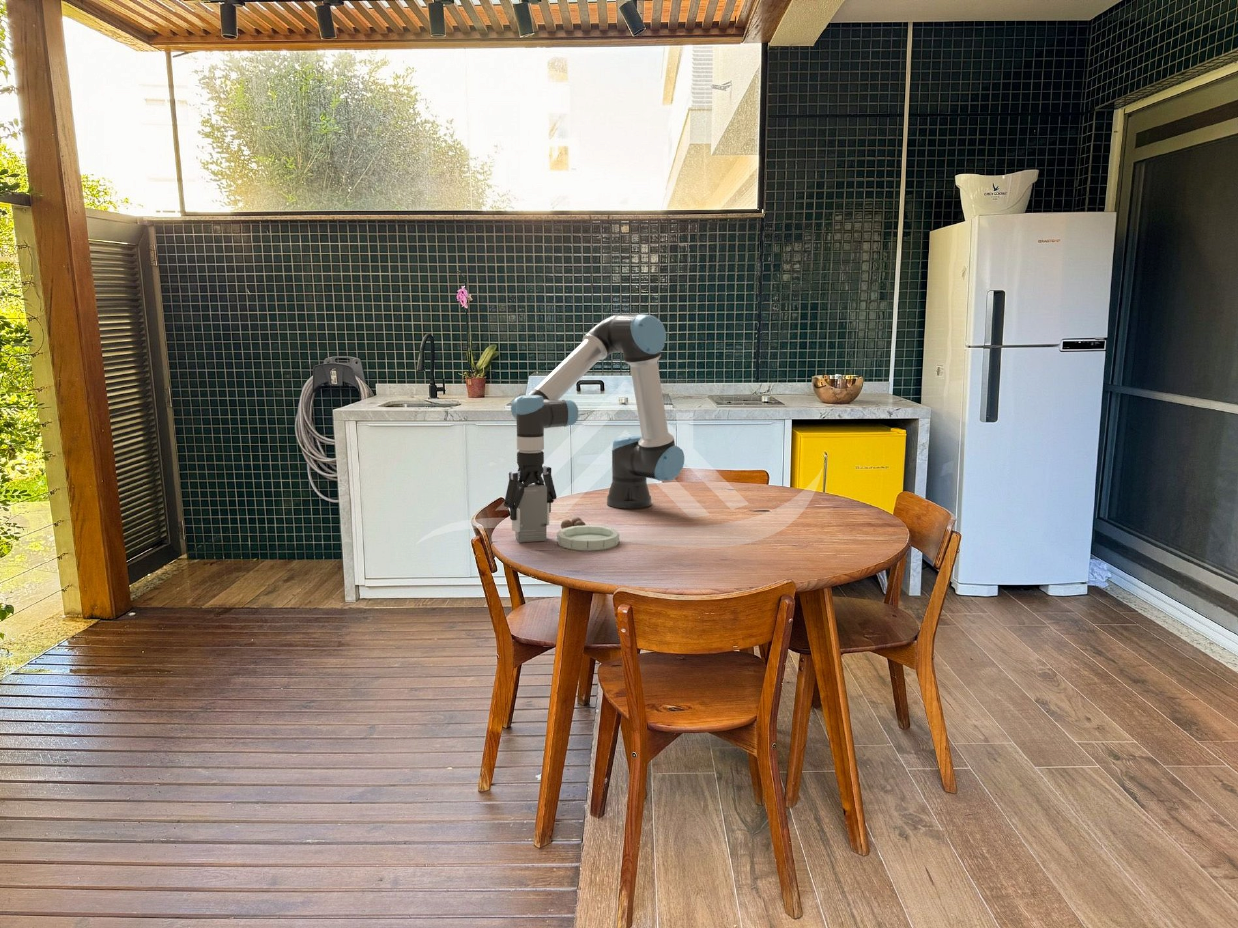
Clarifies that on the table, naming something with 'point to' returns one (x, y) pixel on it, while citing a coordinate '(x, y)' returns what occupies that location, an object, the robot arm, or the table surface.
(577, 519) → the bead
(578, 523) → the bead
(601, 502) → the table surface
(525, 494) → the skincare box
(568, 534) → the tray
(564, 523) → the bead
